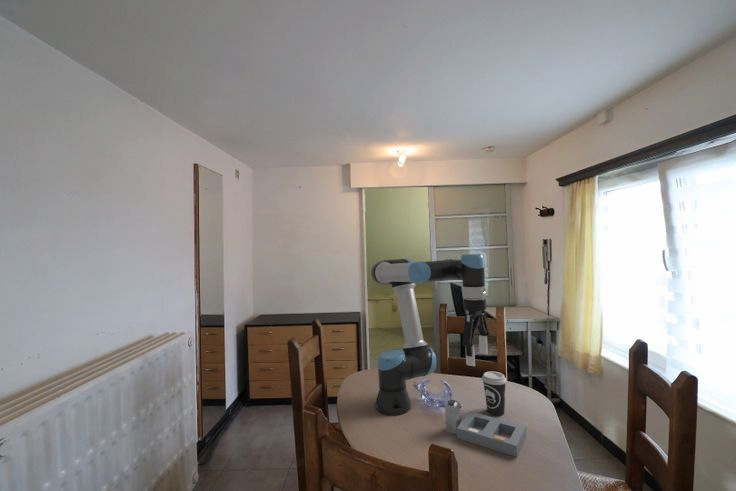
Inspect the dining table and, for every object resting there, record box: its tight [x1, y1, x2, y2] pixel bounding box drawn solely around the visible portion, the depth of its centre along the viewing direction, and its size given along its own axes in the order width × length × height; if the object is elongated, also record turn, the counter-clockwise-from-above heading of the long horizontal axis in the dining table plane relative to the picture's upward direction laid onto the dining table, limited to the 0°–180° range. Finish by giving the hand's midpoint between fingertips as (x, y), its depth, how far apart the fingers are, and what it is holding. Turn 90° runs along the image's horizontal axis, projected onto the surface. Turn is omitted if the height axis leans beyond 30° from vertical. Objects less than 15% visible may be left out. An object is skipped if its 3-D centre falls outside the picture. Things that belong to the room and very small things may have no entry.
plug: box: [444, 399, 462, 436], centre depth 123 cm, size 4×4×11 cm
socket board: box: [456, 411, 528, 458], centre depth 118 cm, size 20×14×4 cm
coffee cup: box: [481, 370, 507, 417], centre depth 135 cm, size 10×10×15 cm
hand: (477, 359), depth 115 cm, fingers open, 13 cm apart
